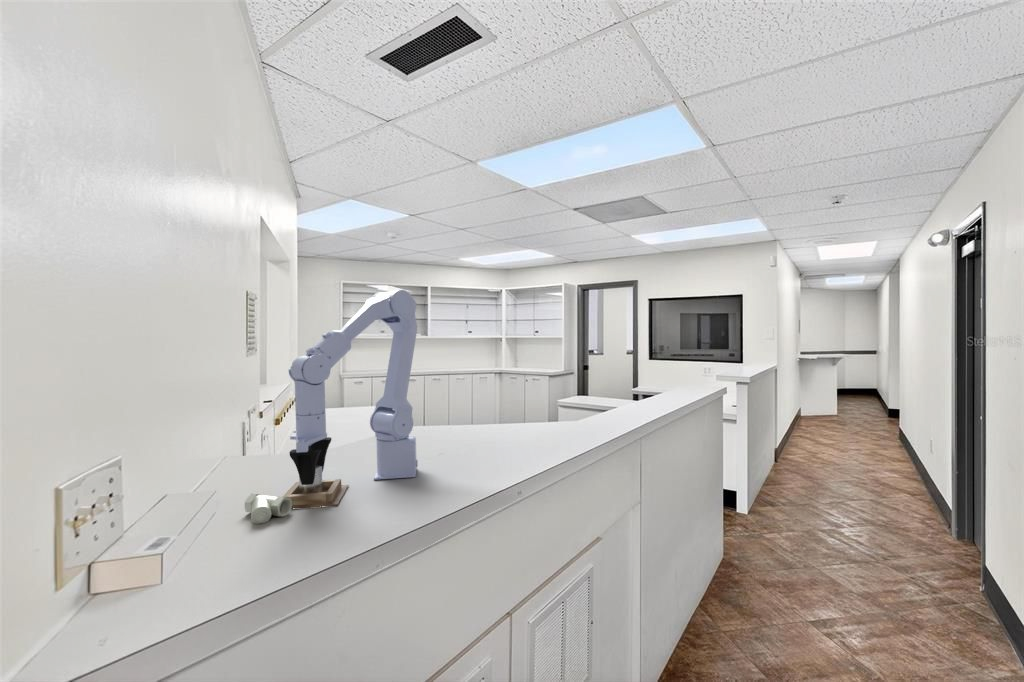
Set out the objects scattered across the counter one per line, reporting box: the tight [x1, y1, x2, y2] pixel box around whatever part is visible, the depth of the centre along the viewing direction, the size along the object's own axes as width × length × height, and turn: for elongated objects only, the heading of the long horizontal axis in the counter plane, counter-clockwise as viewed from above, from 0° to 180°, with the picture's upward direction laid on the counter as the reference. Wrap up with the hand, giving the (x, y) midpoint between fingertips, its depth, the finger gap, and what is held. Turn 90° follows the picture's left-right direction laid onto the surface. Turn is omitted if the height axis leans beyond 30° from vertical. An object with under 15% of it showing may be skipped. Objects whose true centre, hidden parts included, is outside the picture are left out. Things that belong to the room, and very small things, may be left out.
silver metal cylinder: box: [298, 465, 323, 494], centre depth 98 cm, size 4×4×6 cm
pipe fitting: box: [244, 493, 292, 525], centre depth 88 cm, size 8×4×7 cm
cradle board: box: [282, 478, 349, 509], centre depth 98 cm, size 12×12×3 cm
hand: (312, 478), depth 98 cm, fingers open, 7 cm apart
